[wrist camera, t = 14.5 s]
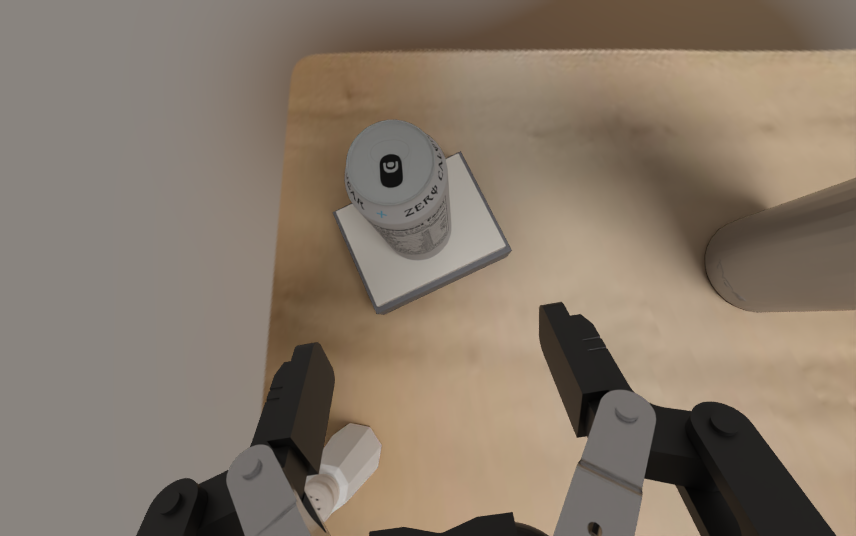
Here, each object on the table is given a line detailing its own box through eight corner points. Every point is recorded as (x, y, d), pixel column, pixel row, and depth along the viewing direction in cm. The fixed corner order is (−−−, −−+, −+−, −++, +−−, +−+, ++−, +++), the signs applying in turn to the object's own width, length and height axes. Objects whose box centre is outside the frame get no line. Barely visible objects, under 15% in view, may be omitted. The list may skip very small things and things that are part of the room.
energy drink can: (448, 196, 35) (441, 102, 20) (454, 259, 34) (451, 210, 19) (385, 202, 35) (332, 115, 20) (389, 265, 34) (337, 222, 19)
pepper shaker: (324, 428, 37) (268, 472, 26) (376, 416, 37) (342, 456, 26) (334, 485, 36) (281, 556, 25) (387, 473, 36) (357, 540, 25)
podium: (460, 166, 40) (460, 146, 35) (506, 256, 38) (513, 248, 33) (343, 221, 40) (329, 209, 35) (384, 314, 38) (374, 313, 34)
